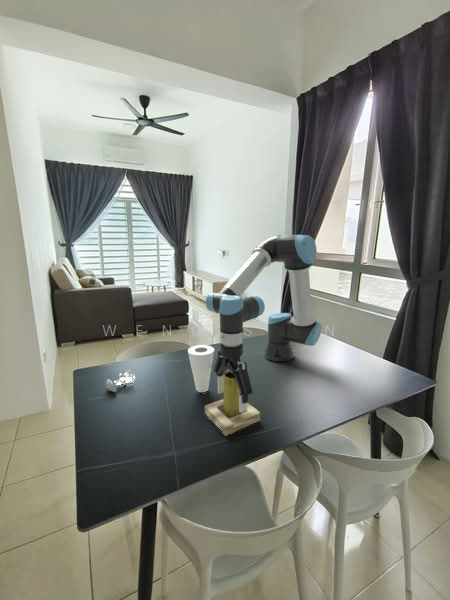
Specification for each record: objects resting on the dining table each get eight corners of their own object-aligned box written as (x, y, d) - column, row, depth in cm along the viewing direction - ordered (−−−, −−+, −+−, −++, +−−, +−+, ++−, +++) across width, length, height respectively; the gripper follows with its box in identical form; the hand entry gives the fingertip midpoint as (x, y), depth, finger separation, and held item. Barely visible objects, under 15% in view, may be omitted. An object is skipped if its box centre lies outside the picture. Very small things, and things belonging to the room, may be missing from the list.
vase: (239, 418, 96) (239, 379, 93) (221, 416, 97) (221, 378, 94) (241, 408, 102) (242, 371, 99) (224, 406, 103) (224, 370, 100)
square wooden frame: (204, 414, 102) (204, 405, 102) (236, 402, 110) (236, 394, 109) (225, 436, 91) (225, 427, 90) (260, 421, 98) (260, 412, 97)
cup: (195, 400, 111) (193, 357, 107) (185, 387, 121) (184, 347, 117) (219, 393, 116) (218, 351, 112) (208, 381, 125) (207, 343, 121)
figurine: (101, 379, 120) (128, 366, 127) (106, 391, 122) (132, 378, 129) (108, 386, 113) (136, 372, 120) (113, 399, 115) (141, 385, 121)
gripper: (203, 334, 102) (205, 388, 107) (244, 358, 82) (244, 423, 87) (221, 330, 106) (221, 382, 111) (264, 352, 86) (263, 415, 90)
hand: (231, 400), depth 99 cm, fingers open, 13 cm apart
